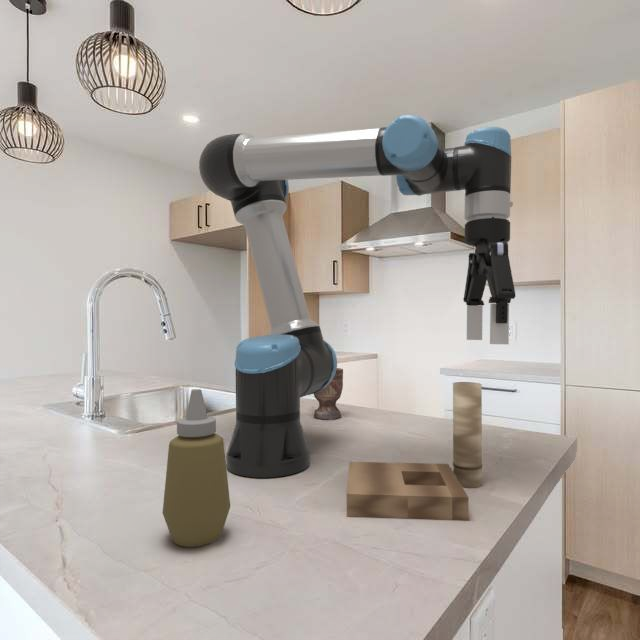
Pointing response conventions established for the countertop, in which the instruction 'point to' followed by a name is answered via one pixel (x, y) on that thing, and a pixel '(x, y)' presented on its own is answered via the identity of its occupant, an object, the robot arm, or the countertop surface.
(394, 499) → the board
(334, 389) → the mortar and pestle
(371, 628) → the countertop surface
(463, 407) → the peg
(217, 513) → the squeeze bottle
